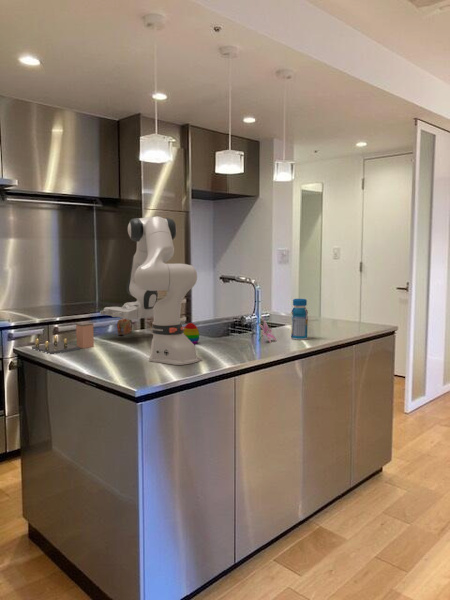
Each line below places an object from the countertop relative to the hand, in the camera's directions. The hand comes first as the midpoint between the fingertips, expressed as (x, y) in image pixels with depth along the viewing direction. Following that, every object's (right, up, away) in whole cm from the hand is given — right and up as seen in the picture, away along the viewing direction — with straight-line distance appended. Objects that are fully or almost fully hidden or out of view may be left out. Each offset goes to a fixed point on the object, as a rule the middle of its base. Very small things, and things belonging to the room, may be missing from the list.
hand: (106, 314), depth 232 cm
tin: (+3, -12, +28) cm, 30 cm away
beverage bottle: (+94, -13, +12) cm, 96 cm away
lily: (+77, -14, +4) cm, 79 cm away
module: (-8, -15, -8) cm, 19 cm away
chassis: (-20, -16, -13) cm, 28 cm away
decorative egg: (+41, -14, 0) cm, 43 cm away
